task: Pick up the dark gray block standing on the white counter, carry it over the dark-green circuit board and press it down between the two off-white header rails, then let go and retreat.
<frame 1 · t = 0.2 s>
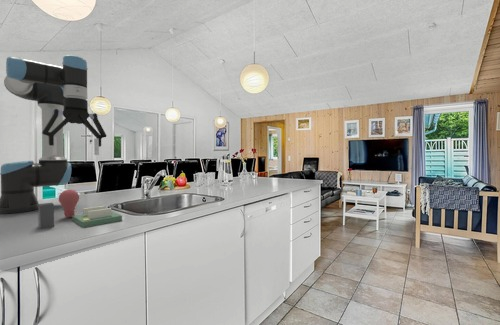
hand: (76, 155, 98), 27 cm above the table, fingers open, 13 cm apart
dark gray block: (46, 226, 96), on the table
board: (97, 220, 105), on the table
light bulb: (69, 217, 110), on the table
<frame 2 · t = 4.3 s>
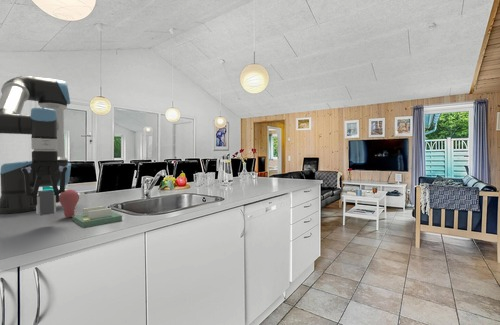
hand: (46, 212, 97), 5 cm above the table, fingers closed on dark gray block, 4 cm apart
dark gray block: (46, 213, 97), point 5 cm above the table, touching gripper
everything else where it was.
when the fingers open (3 cm above the table, at t = 8.2 s): dark gray block stays where it is, resting on board.
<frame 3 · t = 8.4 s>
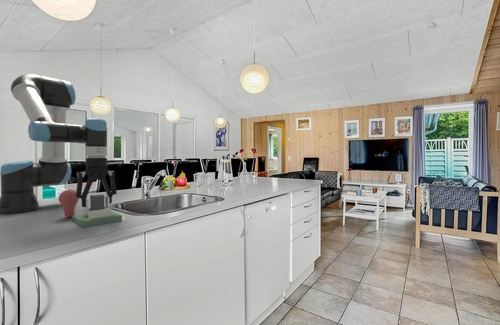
hand: (97, 213, 105), 3 cm above the table, fingers open, 7 cm apart
dark gray block: (97, 215, 105), point 2 cm above the table, touching board
everything else where it was.
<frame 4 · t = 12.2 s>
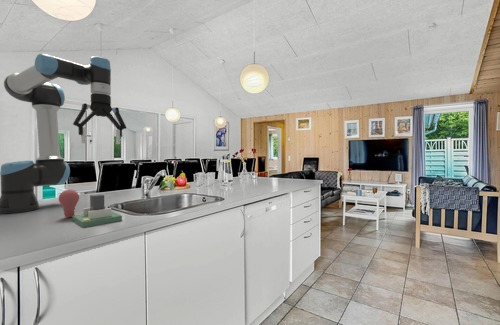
hand: (101, 143, 112), 32 cm above the table, fingers open, 13 cm apart
nothing on the table moved.
at the end: dark gray block 0.1 cm off-centre on the board, point 2.0 cm above the board's base; dark gray block tilted 0°; the gripper is holding nothing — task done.
